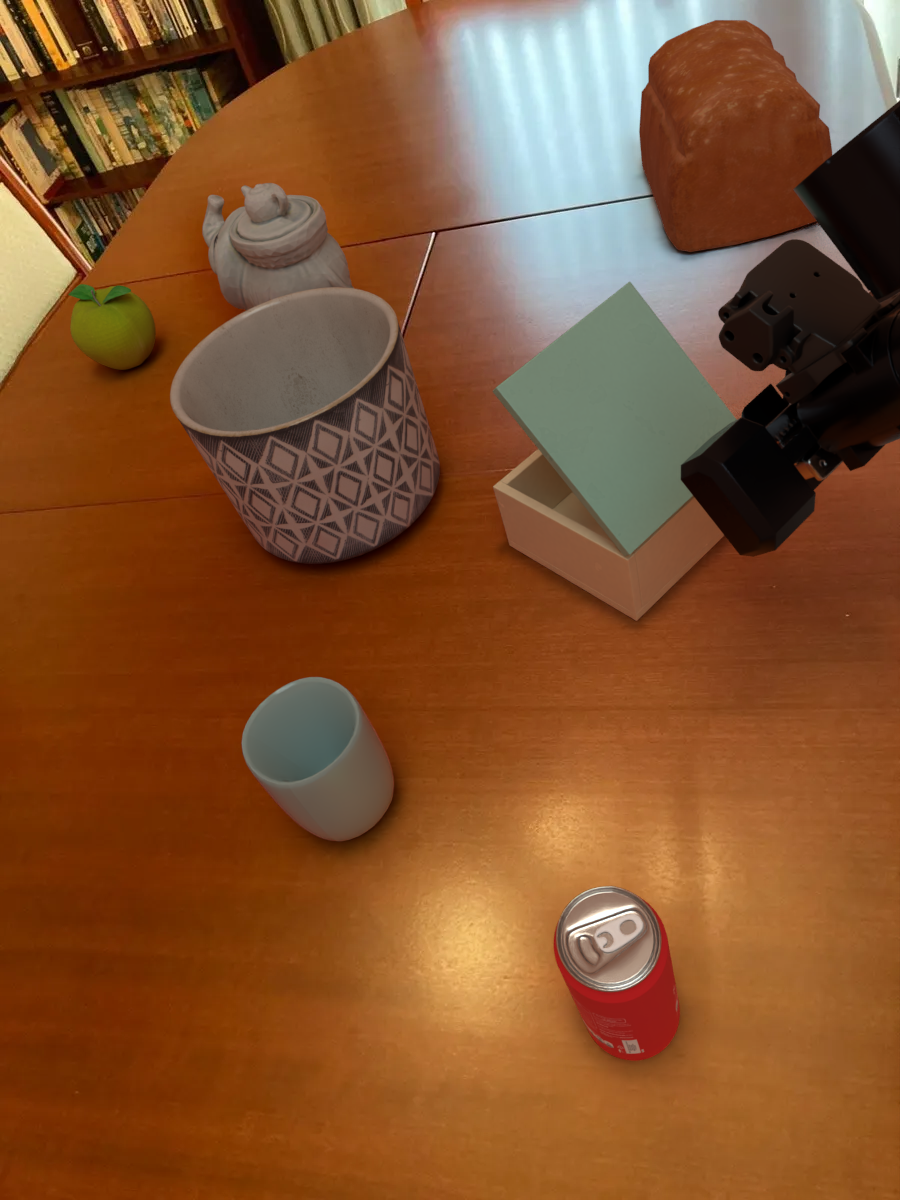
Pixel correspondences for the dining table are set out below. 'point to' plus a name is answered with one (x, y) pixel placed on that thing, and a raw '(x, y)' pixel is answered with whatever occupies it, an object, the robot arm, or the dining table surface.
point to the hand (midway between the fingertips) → (736, 453)
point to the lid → (617, 415)
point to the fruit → (112, 326)
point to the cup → (320, 758)
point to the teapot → (272, 247)
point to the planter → (312, 423)
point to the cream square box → (598, 539)
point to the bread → (727, 137)
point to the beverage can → (619, 971)
